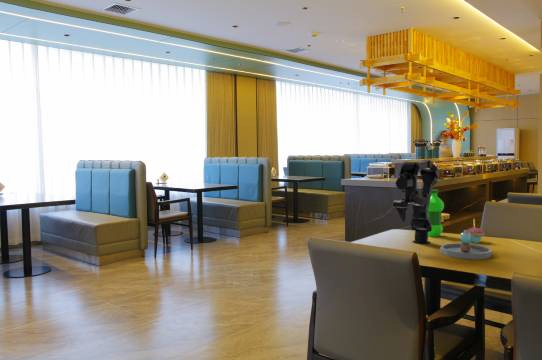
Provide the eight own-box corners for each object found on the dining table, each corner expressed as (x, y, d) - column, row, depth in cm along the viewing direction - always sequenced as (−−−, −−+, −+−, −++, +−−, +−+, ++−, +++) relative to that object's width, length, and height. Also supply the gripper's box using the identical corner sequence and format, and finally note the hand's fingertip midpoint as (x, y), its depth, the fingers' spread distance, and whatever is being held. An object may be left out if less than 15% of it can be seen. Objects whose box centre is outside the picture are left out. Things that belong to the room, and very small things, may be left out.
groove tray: (458, 246, 219) (458, 241, 219) (501, 254, 202) (501, 249, 201) (430, 252, 207) (431, 246, 207) (473, 261, 190) (473, 255, 190)
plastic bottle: (433, 238, 239) (434, 191, 238) (419, 234, 249) (419, 189, 247) (447, 236, 244) (448, 190, 242) (432, 233, 253) (433, 188, 251)
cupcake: (463, 240, 234) (463, 217, 234) (479, 239, 234) (480, 216, 234) (470, 243, 226) (471, 219, 225) (487, 243, 226) (488, 219, 225)
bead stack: (460, 252, 203) (461, 228, 202) (473, 253, 200) (473, 229, 199) (457, 254, 199) (458, 230, 198) (469, 256, 195) (470, 231, 195)
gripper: (411, 190, 204) (410, 224, 205) (437, 188, 214) (436, 221, 215) (392, 188, 213) (391, 221, 214) (418, 186, 223) (417, 218, 224)
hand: (409, 220), depth 216 cm, fingers open, 9 cm apart
